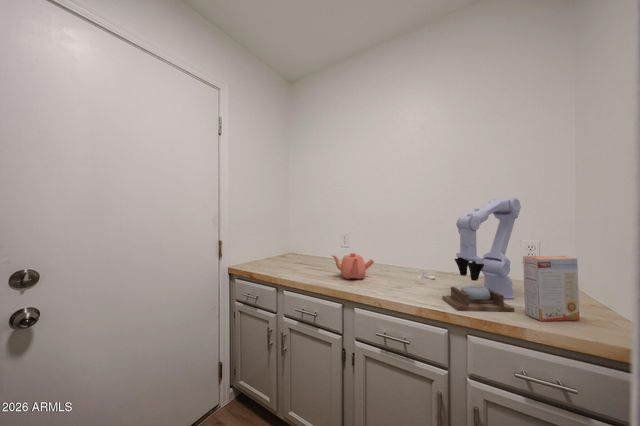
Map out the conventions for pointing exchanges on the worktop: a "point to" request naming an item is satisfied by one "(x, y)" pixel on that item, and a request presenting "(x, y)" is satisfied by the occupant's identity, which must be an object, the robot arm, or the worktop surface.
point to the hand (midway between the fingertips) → (468, 277)
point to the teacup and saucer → (426, 275)
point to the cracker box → (551, 288)
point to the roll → (477, 293)
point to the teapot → (353, 266)
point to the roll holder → (477, 302)
